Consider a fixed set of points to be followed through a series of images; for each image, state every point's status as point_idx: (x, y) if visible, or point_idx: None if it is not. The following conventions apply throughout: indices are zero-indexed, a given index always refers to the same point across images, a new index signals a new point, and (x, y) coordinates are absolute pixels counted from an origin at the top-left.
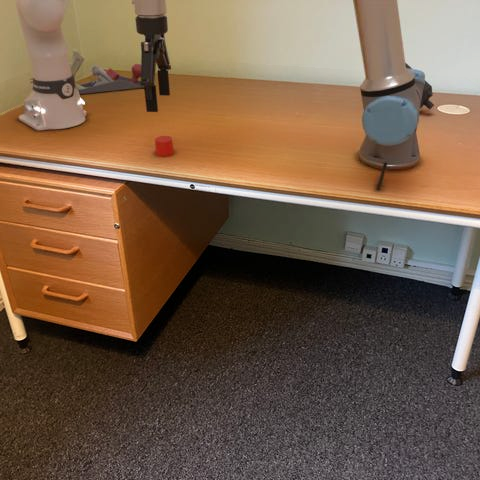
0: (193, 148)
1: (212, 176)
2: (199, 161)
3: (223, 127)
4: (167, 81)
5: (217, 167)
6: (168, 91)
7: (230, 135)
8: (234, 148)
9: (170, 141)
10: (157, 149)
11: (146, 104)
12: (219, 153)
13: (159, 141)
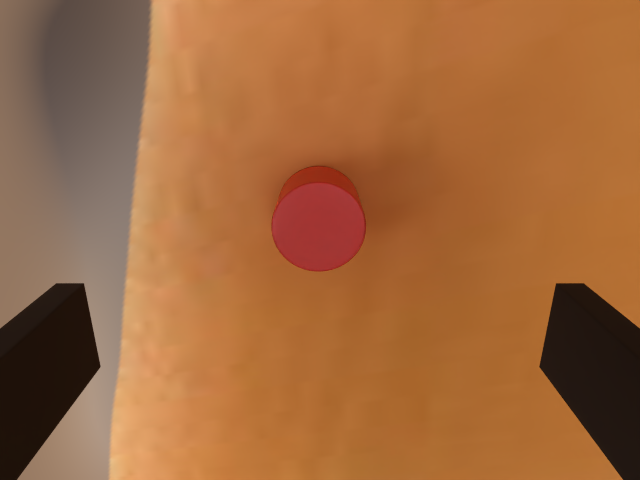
0: (380, 317)
1: (117, 421)
2: (243, 361)
3: None
4: (621, 467)
5: (197, 426)
6: (558, 387)
7: (525, 432)
8: (383, 458)
9: (299, 265)
10: (284, 188)
11: (14, 323)
12: (330, 417)
13: (276, 216)
